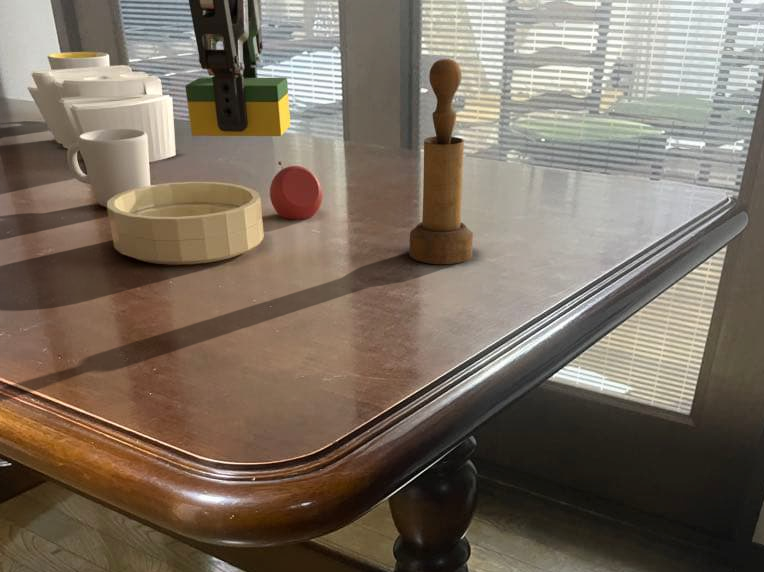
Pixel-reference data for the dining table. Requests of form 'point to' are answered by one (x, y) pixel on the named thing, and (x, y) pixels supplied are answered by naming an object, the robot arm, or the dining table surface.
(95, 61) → the mug
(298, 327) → the dining table surface
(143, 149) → the cup
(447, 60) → the mortar and pestle
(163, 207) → the bowl
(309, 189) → the fruit
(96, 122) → the white wavy slab sculpture
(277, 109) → the sponge
